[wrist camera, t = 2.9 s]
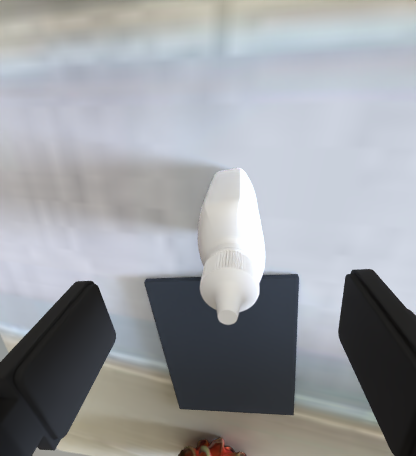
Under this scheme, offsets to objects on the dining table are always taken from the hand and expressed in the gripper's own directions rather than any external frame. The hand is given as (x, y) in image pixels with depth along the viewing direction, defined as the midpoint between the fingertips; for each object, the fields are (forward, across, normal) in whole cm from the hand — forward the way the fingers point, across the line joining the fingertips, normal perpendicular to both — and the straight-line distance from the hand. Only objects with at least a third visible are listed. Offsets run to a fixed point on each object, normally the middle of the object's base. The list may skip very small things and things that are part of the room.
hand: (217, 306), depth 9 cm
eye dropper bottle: (+12, -1, 0) cm, 12 cm away
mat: (+11, +1, +17) cm, 20 cm away
